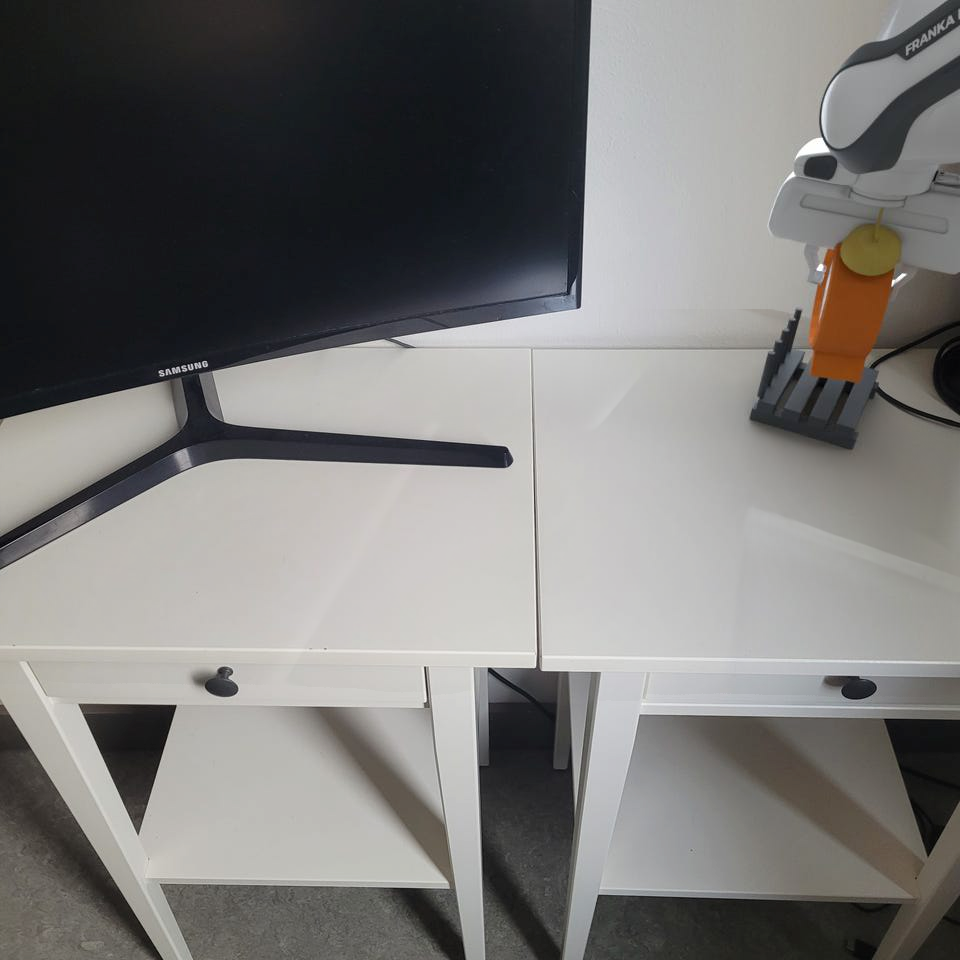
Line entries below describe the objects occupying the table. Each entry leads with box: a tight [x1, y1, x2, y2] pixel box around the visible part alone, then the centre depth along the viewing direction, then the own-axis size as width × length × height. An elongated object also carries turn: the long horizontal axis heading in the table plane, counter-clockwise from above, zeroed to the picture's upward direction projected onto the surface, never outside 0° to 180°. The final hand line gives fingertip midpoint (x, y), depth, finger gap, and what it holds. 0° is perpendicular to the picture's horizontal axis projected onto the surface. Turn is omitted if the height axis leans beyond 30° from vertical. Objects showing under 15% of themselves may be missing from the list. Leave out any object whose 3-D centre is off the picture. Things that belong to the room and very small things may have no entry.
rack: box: [749, 307, 880, 450], centre depth 98 cm, size 12×14×9 cm
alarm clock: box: [808, 207, 901, 383], centre depth 89 cm, size 13×6×20 cm, turn 162°
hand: (850, 289), depth 90 cm, fingers closed on alarm clock, 6 cm apart
